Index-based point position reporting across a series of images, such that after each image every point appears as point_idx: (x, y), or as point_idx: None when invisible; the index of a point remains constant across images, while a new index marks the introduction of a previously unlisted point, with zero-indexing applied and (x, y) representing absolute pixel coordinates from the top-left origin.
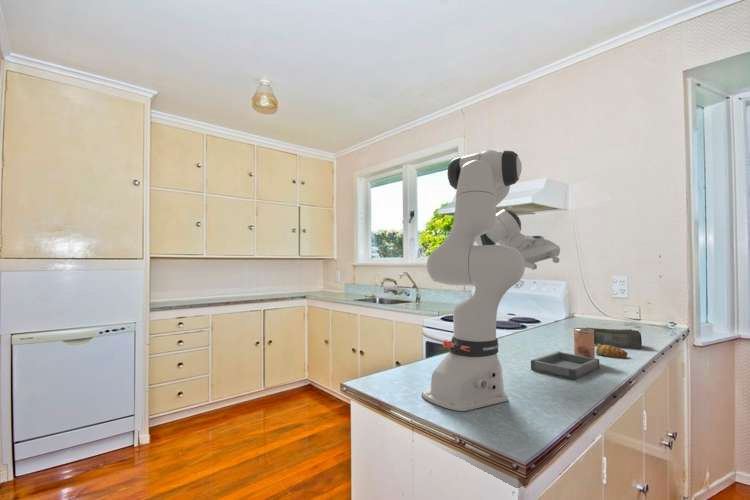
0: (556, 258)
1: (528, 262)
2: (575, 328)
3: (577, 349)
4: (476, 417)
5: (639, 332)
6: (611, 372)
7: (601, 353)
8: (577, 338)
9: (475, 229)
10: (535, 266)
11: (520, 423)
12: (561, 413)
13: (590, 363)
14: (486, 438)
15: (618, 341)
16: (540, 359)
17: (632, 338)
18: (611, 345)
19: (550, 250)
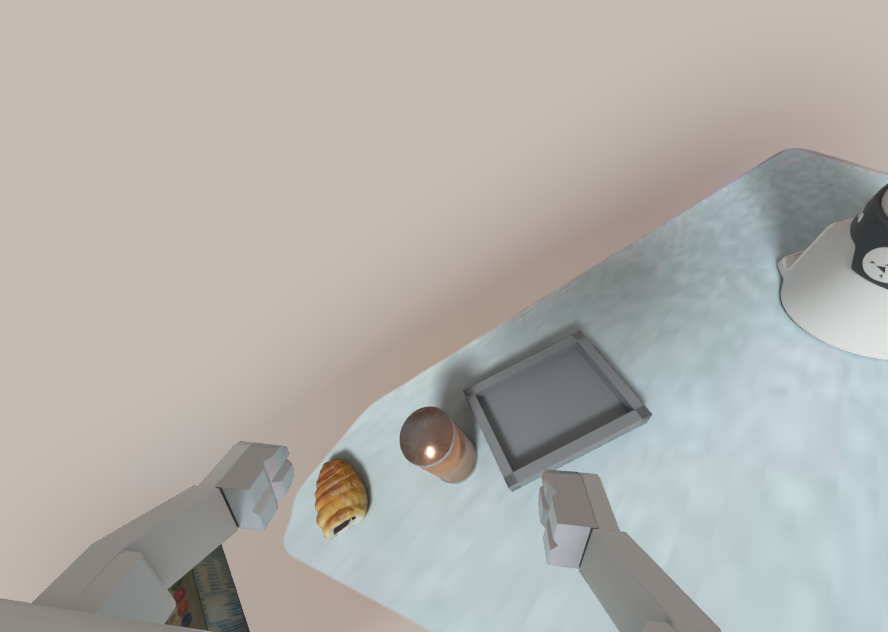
0: (258, 451)
1: (643, 575)
2: (437, 456)
3: (468, 446)
4: None
5: None
6: (465, 374)
7: (366, 494)
8: (460, 437)
9: None
10: (564, 473)
11: (772, 204)
12: (687, 230)
13: (505, 369)
14: (842, 172)
15: (220, 579)
16: (614, 420)
17: None
18: (237, 596)
19: (34, 622)
